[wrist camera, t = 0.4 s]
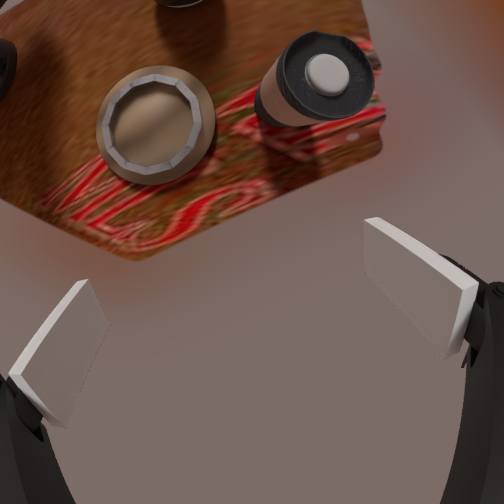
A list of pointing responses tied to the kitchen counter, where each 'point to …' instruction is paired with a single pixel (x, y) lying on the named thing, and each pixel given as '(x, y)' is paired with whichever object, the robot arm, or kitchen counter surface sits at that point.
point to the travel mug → (315, 82)
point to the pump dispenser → (178, 2)
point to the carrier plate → (155, 125)
